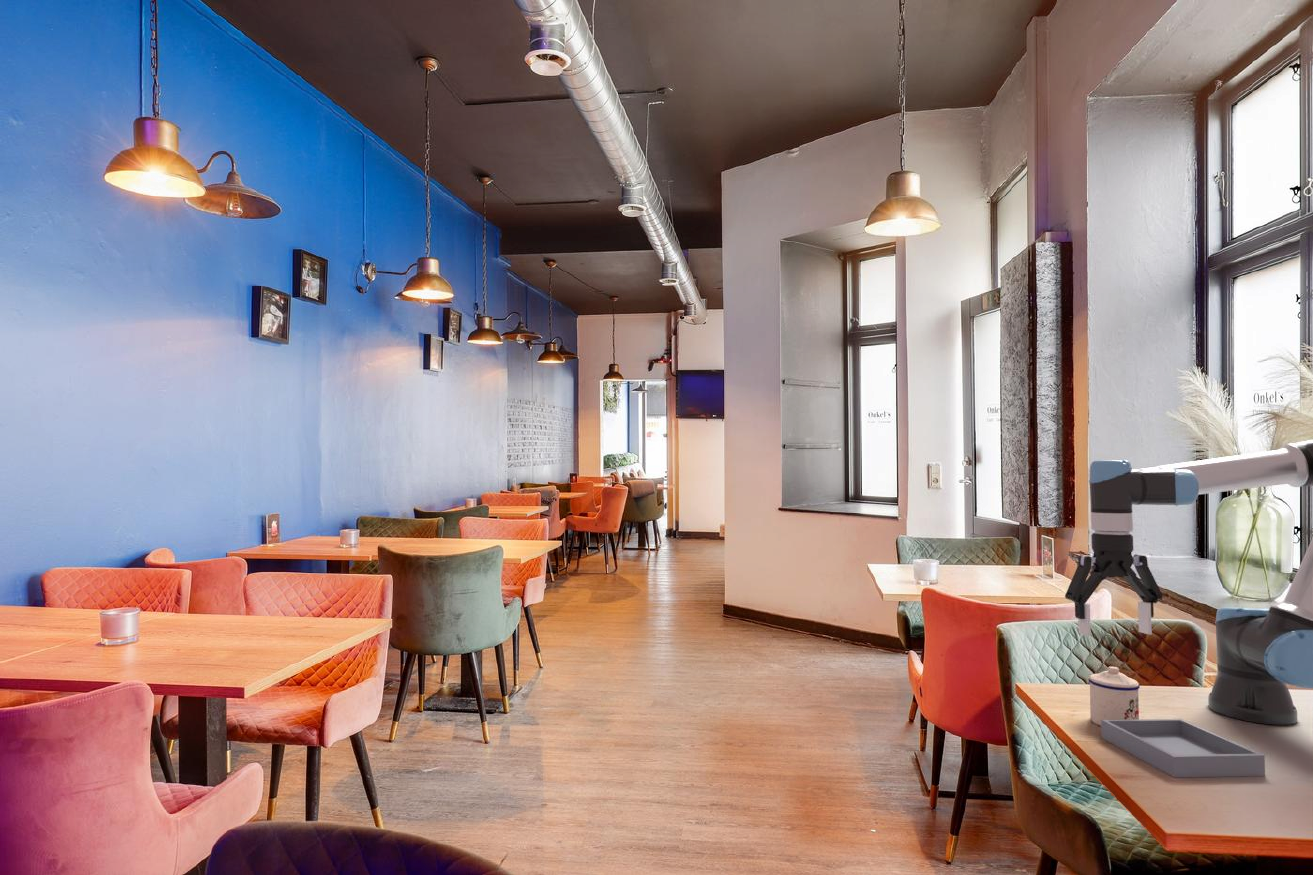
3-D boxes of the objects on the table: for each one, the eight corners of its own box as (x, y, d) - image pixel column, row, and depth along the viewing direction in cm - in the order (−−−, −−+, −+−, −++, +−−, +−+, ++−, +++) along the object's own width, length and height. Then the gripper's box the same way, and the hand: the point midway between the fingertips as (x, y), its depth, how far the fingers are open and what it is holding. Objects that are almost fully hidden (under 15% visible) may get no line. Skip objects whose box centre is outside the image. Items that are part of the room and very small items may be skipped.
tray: (1181, 736, 145) (1180, 718, 145) (1265, 775, 127) (1264, 755, 127) (1101, 737, 144) (1101, 719, 144) (1174, 777, 126) (1173, 756, 126)
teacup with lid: (1135, 734, 146) (1134, 676, 146) (1084, 723, 152) (1083, 667, 153) (1147, 720, 155) (1146, 664, 155) (1098, 710, 161) (1097, 657, 161)
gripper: (1153, 530, 159) (1156, 628, 159) (1045, 531, 157) (1047, 631, 156) (1180, 533, 152) (1184, 636, 151) (1067, 534, 150) (1070, 639, 149)
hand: (1115, 633), depth 154 cm, fingers open, 13 cm apart
